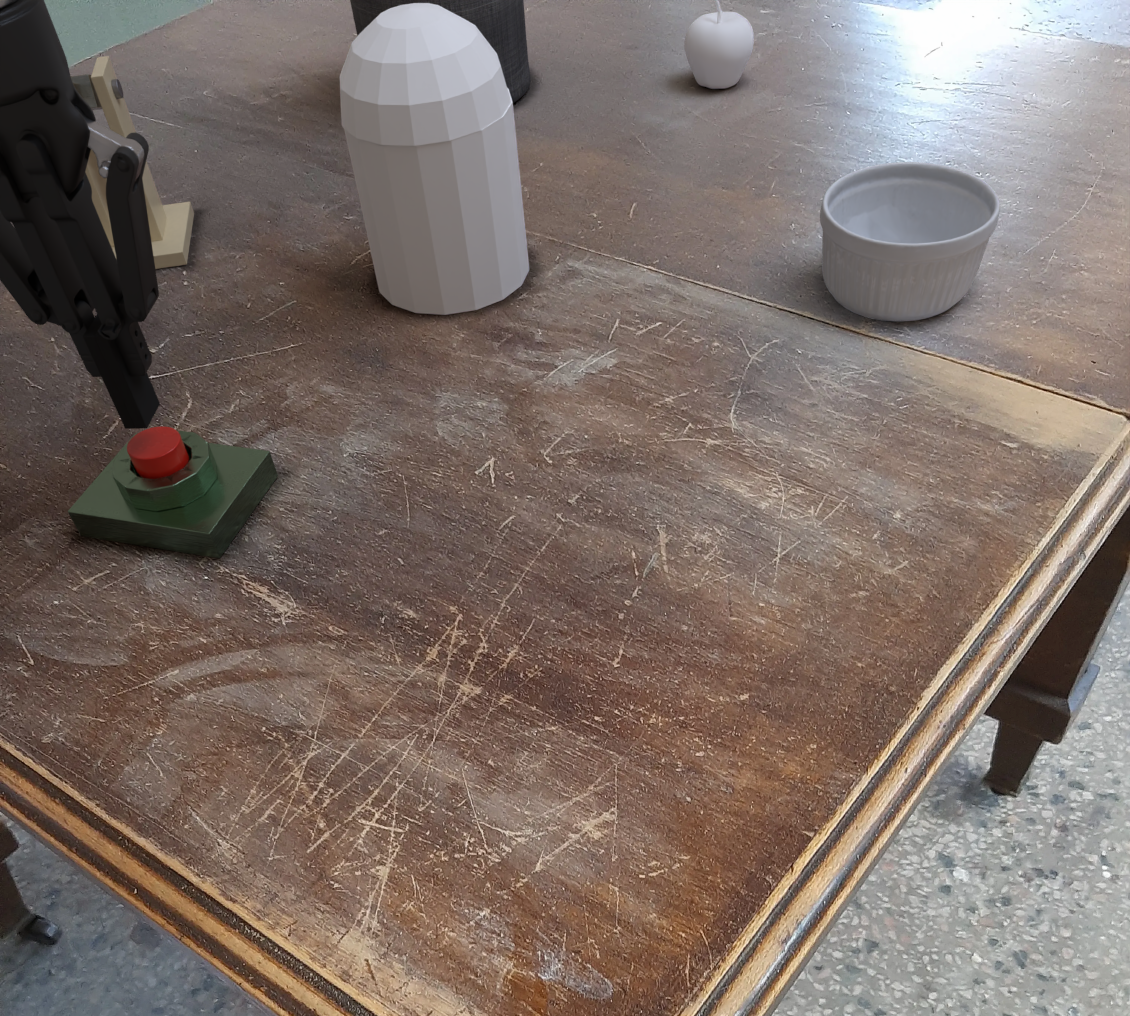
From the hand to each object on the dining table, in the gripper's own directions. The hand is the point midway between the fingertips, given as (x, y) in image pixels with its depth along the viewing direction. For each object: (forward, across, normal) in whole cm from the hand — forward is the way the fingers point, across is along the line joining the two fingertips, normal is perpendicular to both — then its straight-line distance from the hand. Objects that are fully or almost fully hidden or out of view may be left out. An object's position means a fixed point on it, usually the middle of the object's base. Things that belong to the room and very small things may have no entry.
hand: (142, 415), depth 71 cm
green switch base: (+7, 0, 0) cm, 7 cm away
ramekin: (+8, +52, +27) cm, 59 cm away
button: (+4, 0, 0) cm, 4 cm away
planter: (+8, +9, +70) cm, 71 cm away
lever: (-7, -14, +31) cm, 34 cm away
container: (+8, +15, +31) cm, 35 cm away
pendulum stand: (+7, -16, +38) cm, 41 cm away
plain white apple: (+8, +38, +69) cm, 79 cm away
